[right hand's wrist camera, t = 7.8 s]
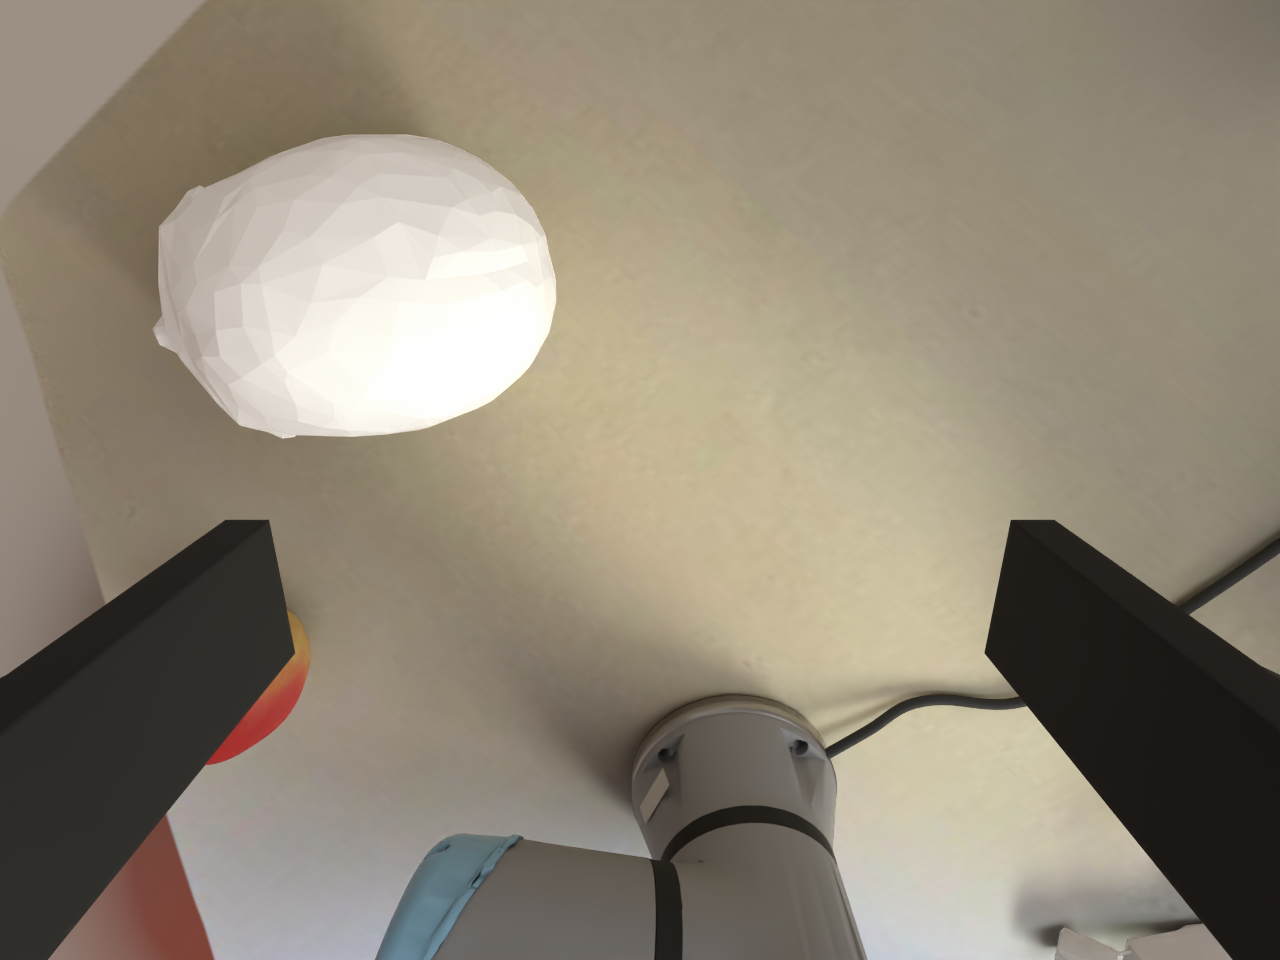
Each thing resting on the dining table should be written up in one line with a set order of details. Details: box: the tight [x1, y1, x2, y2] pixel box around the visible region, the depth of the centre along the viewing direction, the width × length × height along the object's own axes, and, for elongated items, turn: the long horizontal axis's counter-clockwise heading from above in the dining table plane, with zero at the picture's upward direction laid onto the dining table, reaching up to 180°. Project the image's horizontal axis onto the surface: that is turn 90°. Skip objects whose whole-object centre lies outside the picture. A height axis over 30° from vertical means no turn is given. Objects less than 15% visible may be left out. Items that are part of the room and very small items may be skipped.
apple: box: [205, 609, 310, 765], centre depth 44 cm, size 10×10×10 cm
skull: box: [153, 134, 556, 438], centre depth 34 cm, size 13×22×16 cm, turn 105°
